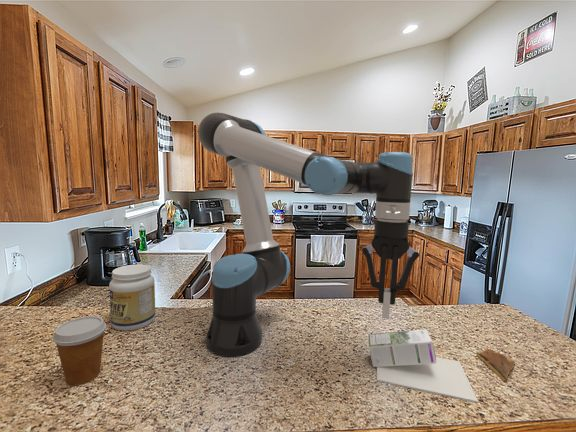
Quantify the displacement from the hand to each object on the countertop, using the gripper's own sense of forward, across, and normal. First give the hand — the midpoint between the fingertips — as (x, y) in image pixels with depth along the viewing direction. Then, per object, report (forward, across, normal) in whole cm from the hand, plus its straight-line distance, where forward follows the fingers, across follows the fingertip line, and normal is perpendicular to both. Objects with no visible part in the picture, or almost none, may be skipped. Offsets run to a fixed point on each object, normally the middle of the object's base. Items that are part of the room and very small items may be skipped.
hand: (385, 315), depth 70 cm
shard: (+14, +29, +9) cm, 33 cm away
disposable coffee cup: (+13, -64, -27) cm, 71 cm away
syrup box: (+10, -3, 0) cm, 10 cm away
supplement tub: (+12, -73, -4) cm, 74 cm away
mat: (+13, +9, 0) cm, 15 cm away
